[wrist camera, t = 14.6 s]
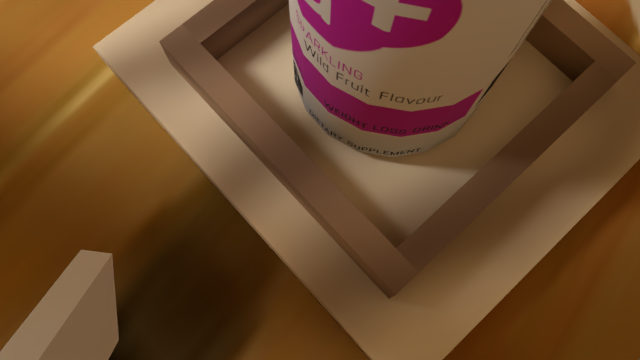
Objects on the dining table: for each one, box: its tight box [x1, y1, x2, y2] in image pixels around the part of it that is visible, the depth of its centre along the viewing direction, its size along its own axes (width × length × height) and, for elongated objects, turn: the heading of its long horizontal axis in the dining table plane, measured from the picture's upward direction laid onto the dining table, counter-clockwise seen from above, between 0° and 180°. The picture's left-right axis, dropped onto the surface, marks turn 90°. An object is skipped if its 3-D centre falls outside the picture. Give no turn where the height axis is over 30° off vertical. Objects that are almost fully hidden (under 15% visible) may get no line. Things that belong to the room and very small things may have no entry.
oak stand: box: [93, 0, 640, 360], centre depth 25 cm, size 20×18×4 cm
